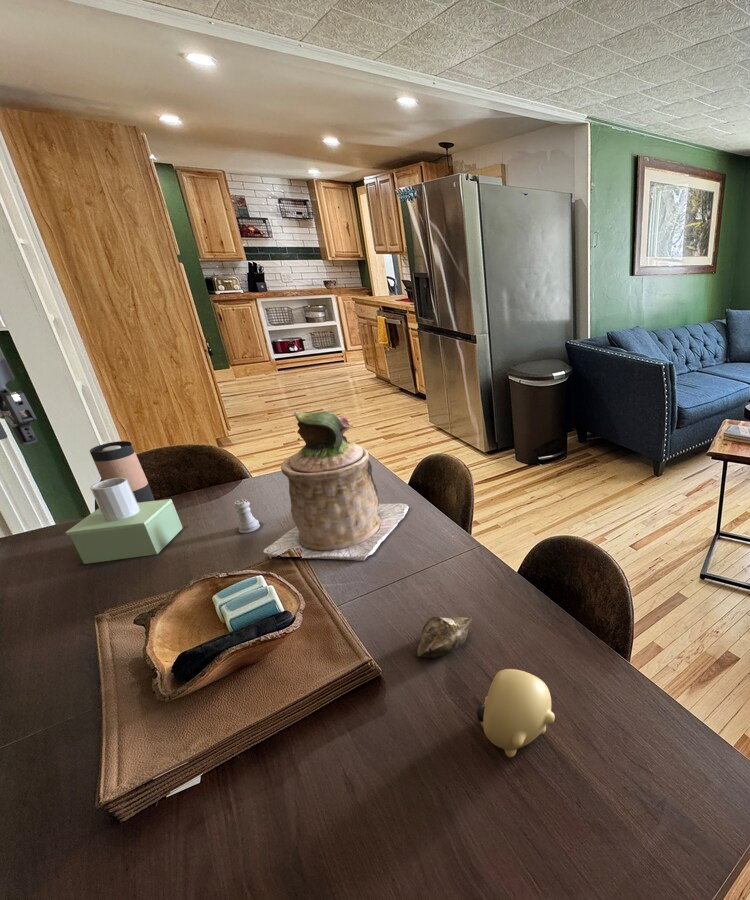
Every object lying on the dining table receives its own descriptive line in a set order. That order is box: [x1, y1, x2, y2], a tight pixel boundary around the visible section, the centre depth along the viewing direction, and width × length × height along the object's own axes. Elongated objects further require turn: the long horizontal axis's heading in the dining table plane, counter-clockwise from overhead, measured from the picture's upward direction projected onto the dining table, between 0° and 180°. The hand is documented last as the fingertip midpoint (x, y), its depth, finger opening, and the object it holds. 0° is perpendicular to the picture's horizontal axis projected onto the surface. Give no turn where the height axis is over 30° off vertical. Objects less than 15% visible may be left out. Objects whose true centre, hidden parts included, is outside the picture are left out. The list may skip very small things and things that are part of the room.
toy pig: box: [476, 668, 556, 758], centre depth 67 cm, size 10×12×11 cm
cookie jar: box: [263, 410, 410, 562], centre depth 111 cm, size 25×25×32 cm
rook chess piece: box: [233, 498, 261, 534], centre depth 117 cm, size 4×4×8 cm
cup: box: [90, 478, 140, 521], centre depth 107 cm, size 6×6×8 cm
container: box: [69, 501, 184, 565], centre depth 110 cm, size 14×12×8 cm
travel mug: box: [89, 440, 156, 503], centre depth 120 cm, size 8×8×20 cm
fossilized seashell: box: [416, 616, 473, 659], centre depth 83 cm, size 8×7×10 cm
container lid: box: [65, 498, 173, 536], centre depth 109 cm, size 14×12×1 cm
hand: (14, 441), depth 92 cm, fingers open, 8 cm apart
